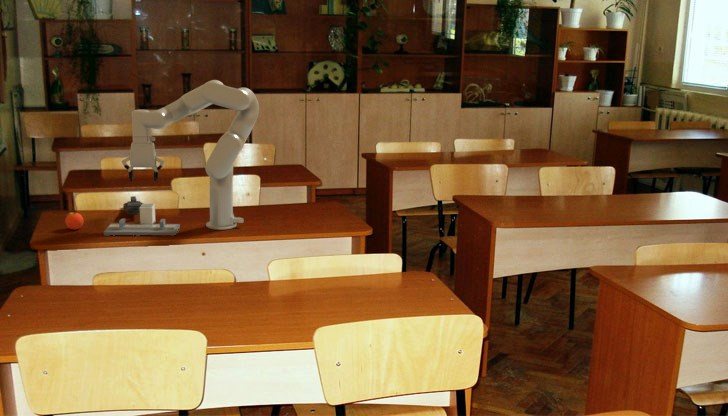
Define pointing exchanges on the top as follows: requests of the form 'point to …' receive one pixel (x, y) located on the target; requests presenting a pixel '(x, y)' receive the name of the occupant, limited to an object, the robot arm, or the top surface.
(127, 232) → the board
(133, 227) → the rail
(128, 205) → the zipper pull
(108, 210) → the top surface
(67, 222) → the clementine
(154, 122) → the robot arm
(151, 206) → the block
